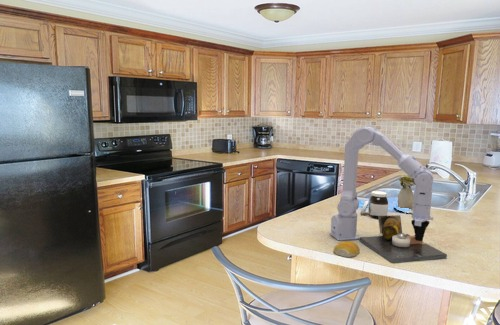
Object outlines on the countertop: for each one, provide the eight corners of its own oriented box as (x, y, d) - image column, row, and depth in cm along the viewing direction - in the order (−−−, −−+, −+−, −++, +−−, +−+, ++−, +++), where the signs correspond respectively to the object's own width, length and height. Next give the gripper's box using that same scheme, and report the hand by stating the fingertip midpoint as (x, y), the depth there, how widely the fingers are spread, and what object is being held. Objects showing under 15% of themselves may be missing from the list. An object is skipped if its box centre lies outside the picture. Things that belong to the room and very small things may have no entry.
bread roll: (362, 252, 132) (363, 241, 132) (352, 259, 125) (353, 248, 125) (340, 246, 137) (341, 236, 137) (329, 253, 130) (330, 242, 130)
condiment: (402, 233, 148) (399, 242, 137) (380, 233, 152) (375, 242, 141) (400, 215, 148) (397, 223, 137) (378, 215, 151) (373, 223, 141)
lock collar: (399, 248, 131) (400, 241, 131) (388, 242, 137) (388, 235, 137) (426, 244, 135) (427, 238, 135) (414, 239, 141) (415, 233, 140)
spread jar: (389, 219, 172) (391, 195, 170) (364, 219, 172) (366, 194, 171) (380, 212, 184) (382, 189, 182) (357, 212, 184) (359, 189, 182)
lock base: (392, 263, 123) (393, 246, 122) (359, 241, 143) (360, 226, 142) (446, 258, 128) (448, 242, 127) (407, 237, 148) (408, 224, 147)
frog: (393, 212, 185) (396, 176, 182) (393, 206, 197) (396, 172, 194) (420, 215, 181) (423, 178, 178) (418, 208, 193) (421, 174, 190)
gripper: (432, 209, 125) (428, 248, 127) (436, 201, 137) (433, 237, 139) (409, 206, 128) (406, 244, 130) (415, 198, 141) (413, 233, 143)
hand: (418, 240), depth 135 cm, fingers closed, pressing on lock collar
